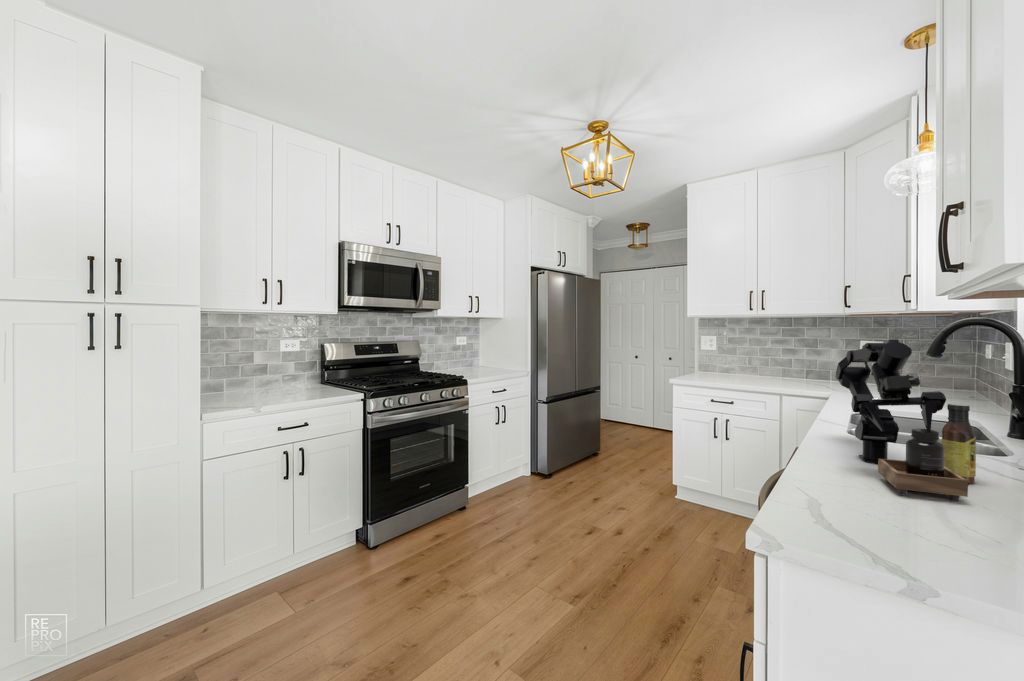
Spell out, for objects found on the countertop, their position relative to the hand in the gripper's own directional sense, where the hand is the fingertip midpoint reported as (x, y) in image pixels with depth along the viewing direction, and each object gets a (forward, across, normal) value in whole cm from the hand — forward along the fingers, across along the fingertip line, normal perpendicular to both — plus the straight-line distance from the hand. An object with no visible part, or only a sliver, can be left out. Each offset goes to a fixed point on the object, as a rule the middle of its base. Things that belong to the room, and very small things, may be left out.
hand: (905, 430), depth 112 cm
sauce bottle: (+6, +11, +16) cm, 20 cm away
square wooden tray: (+14, 0, +4) cm, 15 cm away
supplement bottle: (+12, +1, +3) cm, 12 cm away
